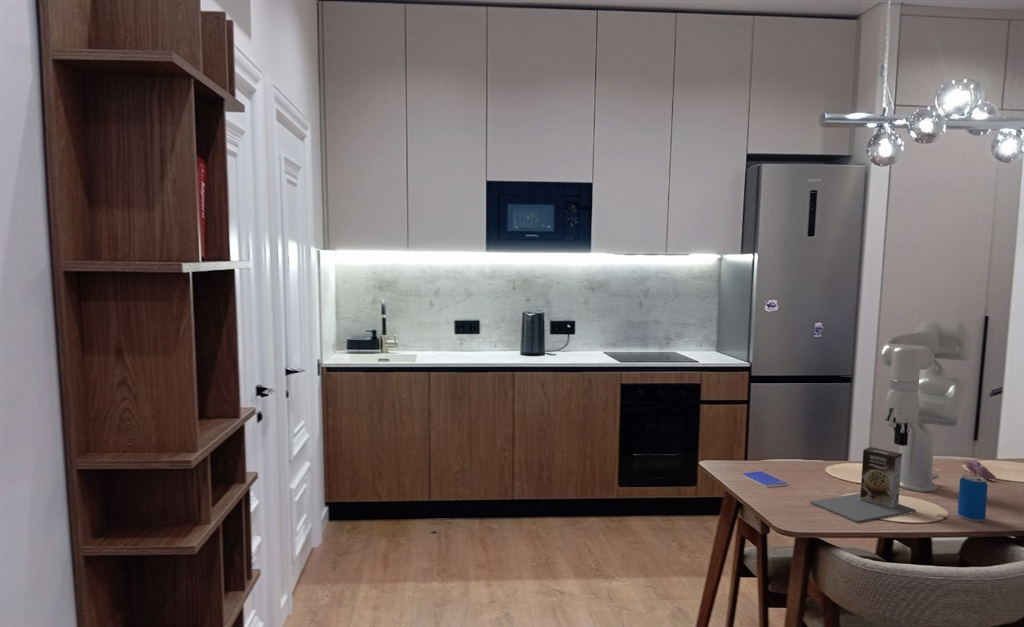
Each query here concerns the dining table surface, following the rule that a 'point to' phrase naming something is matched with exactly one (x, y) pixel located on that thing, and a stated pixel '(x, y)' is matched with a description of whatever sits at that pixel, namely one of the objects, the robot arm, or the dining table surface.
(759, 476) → the hard drive
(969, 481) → the beverage can
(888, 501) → the coffee box
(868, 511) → the gray mat
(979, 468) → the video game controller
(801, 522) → the dining table surface
